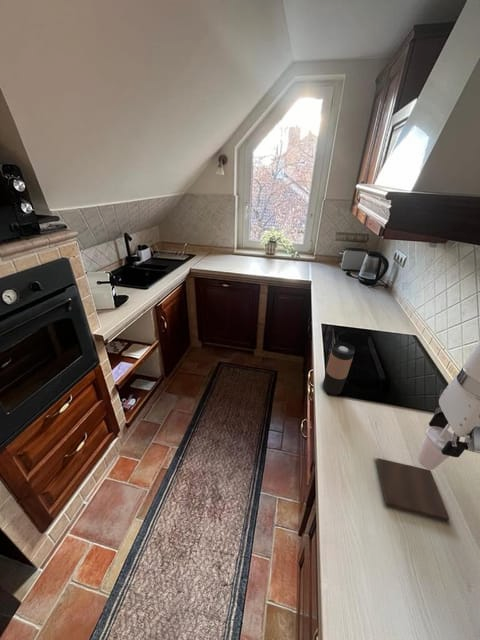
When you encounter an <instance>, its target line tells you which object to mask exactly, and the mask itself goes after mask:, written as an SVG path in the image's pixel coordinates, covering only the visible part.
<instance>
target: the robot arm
mask: <svg viewBox="0 0 480 640" xmlns="http://www.w3.org/2000/svg"><path fill="white" fill-rule="evenodd" d="M434 412H435V413H434V414H433V416H432V417H431V419H430V421H429V422H428V427H432V426H437V427H441V428H445V427H446V425H447V424H448V423H449V424H450V428H451V430H452V431H453V433H452V434H453V438H452V441H448V442H447V444H446V445H445V446H444V448H443V449H442V451H441V452H442V454H443V455H448V456H449V457H452V458H460V456H461V455H462V454H463V453H464V451H469V452H471V453H476V454H480V339H479V340H478V342H477V343H476V345H475V347H474V349H473V350H472V352H471V353H470V355H469V356H468V357H467V360H466V361H465V362H464V364H463V365H462V367H461V369H460V370H459V372H458V373H457V374H456V375H455V376H454V377H453V378H452V379H451V381H450V382H449V383H448V384H447V386H446V387H445V389H444V390H438V399H437V407H435V409H434ZM460 438H464V440H463V441H460Z"/></svg>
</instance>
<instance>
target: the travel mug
mask: <svg viewBox="0 0 480 640" xmlns="http://www.w3.org/2000/svg"><path fill="white" fill-rule="evenodd" d="M354 355H355V347H353V345H352V344H350V343H347V342H344V341H337V342H334V343H333V344H332V347H331V351H330V355H329V357H328V361H327V365H326V369H325V373H324V377H323V383H322V389H323V391H324V392H325V393H326V394H329V395H331V396H338V395H340V394H341V393H342V391H343V388H344V385H345V383H346V380H347V377H348V375H349V371H350V368H351V365H352V362H353V359H354Z"/></svg>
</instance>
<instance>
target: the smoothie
mask: <svg viewBox="0 0 480 640" xmlns="http://www.w3.org/2000/svg"><path fill="white" fill-rule="evenodd" d="M449 428H451V426H450V424H449V423H448V424H447V425H446V427H445V428H441V427H437V426H432V427H430V426H428V428H427V429H426V431H425V437H424V440H423V443H422V446H421V447H420V450H419V454H418V457H417V460H418V462H419V464H420V465H421V466H422V467H423V468H424V469H427V470H430V471H431V470H432V471H433V470H435V469H436V468H438V467H439V466H440V464H442V463H443V462H445V461H446V460H447V459H449V458H450V456H448V455H443V454H442V452H441V451H442V449H443V448H444V446H445V445H446V444H447V442H448V441H452V438H453V434H454V433H452V432H451V431H449Z"/></svg>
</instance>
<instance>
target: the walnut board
mask: <svg viewBox="0 0 480 640" xmlns="http://www.w3.org/2000/svg"><path fill="white" fill-rule="evenodd" d="M375 463H376V467H377V472H378V476H379V480H380V484H381V490H382V495H383V499H384V503H385V506H387V507H389V508H390V507H391V508H395V509H398V510H402V511H405V512H409V513H413V514H417V515H420V516H425V517H428V518H433V519H436V520H440V521H443V522H448V521H449V520H450V517H449V513H448V511H447V509H446V506H445V504H444V501H443V499H442V496H441V494H440V492H439V489H438V486H437V484H436V481H435V478H434V476H433V473H432V471H431V470H430V469H427V468H422V467H417V466H413V465H410V464H405V463H400V462H397V461H392V460H387V459H383V458H380V457H377V458H376V460H375Z"/></svg>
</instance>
